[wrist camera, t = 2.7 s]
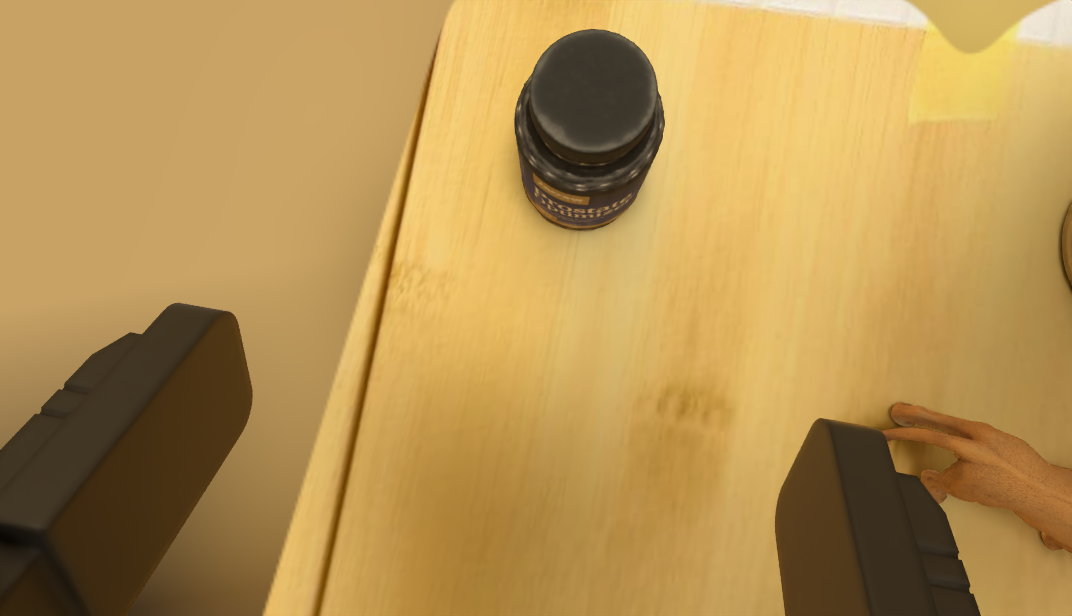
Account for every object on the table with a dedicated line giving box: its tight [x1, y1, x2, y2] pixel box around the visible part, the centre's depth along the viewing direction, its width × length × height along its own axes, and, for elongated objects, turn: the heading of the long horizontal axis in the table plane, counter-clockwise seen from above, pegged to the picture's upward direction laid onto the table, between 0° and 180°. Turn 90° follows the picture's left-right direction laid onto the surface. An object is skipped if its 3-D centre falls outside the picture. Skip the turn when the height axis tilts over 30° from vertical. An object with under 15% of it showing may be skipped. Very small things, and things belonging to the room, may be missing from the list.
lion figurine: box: [882, 403, 1072, 553], centre depth 31 cm, size 15×5×9 cm, turn 75°
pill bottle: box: [515, 29, 665, 230], centre depth 32 cm, size 6×6×11 cm
